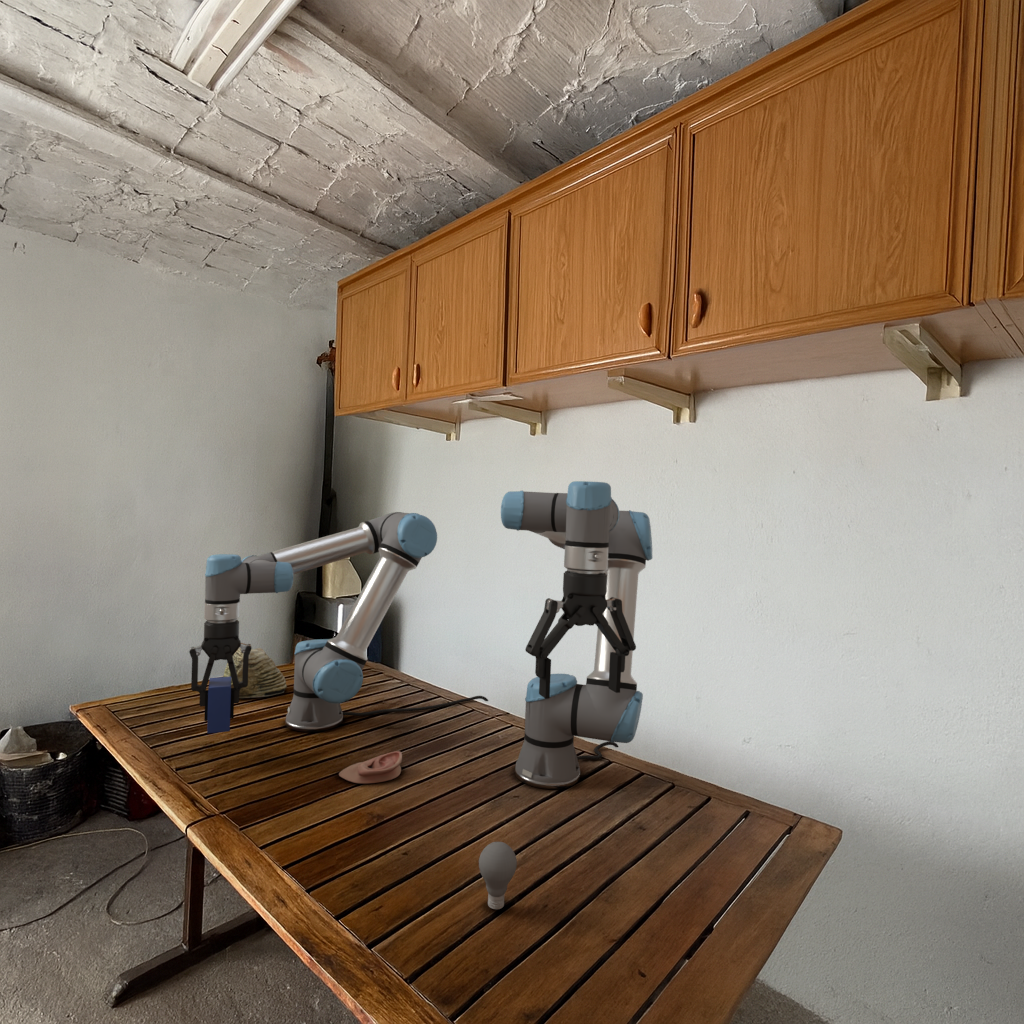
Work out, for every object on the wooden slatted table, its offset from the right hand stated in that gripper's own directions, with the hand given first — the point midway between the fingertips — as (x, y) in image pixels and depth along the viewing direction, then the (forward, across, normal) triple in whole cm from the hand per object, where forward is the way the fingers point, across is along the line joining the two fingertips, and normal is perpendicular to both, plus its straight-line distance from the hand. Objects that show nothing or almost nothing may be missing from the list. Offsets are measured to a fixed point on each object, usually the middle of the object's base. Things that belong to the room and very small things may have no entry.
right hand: (579, 693), depth 110 cm
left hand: (+22, -60, +67) cm, 92 cm away
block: (+24, -60, +66) cm, 93 cm away
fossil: (+31, -53, +115) cm, 131 cm away
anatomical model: (+31, -27, +49) cm, 64 cm away
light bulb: (+31, -16, -5) cm, 36 cm away
